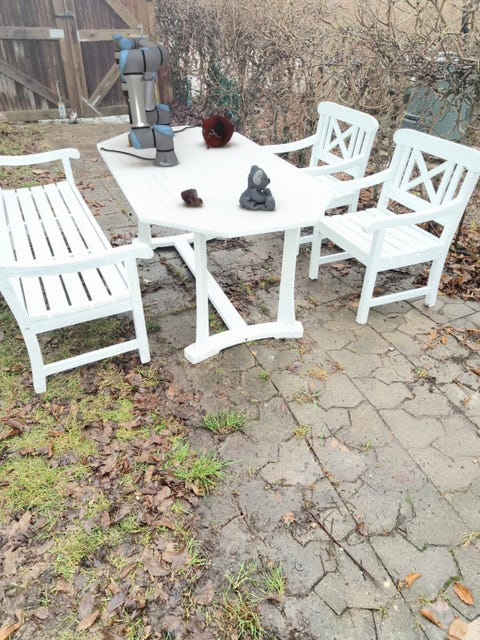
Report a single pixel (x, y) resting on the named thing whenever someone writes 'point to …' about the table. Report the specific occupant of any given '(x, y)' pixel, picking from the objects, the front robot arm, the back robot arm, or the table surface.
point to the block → (130, 141)
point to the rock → (191, 197)
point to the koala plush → (257, 191)
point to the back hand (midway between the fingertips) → (124, 88)
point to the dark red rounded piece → (217, 130)
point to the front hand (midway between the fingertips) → (132, 122)
